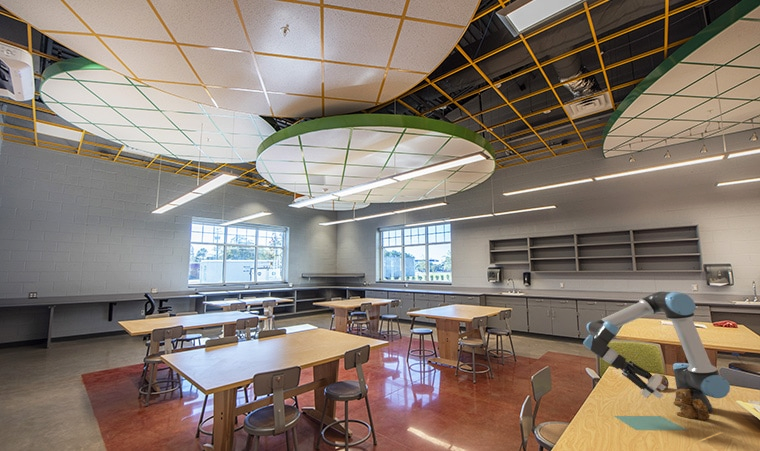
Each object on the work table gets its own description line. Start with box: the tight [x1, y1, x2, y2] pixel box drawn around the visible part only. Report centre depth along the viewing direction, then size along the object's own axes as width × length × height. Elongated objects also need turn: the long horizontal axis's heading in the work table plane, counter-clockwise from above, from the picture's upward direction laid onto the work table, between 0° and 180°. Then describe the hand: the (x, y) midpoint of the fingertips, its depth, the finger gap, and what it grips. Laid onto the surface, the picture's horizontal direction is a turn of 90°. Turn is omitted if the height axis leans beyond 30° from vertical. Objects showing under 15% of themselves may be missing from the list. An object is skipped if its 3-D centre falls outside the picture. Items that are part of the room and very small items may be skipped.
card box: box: [640, 372, 663, 399], centre depth 163 cm, size 8×3×11 cm
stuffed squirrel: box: [673, 389, 711, 421], centre depth 166 cm, size 10×14×13 cm
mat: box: [613, 415, 688, 431], centre depth 159 cm, size 24×16×1 cm, turn 87°
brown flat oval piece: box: [647, 374, 669, 391], centre depth 207 cm, size 15×3×8 cm, turn 105°
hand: (662, 392), depth 160 cm, fingers closed on card box, 8 cm apart
